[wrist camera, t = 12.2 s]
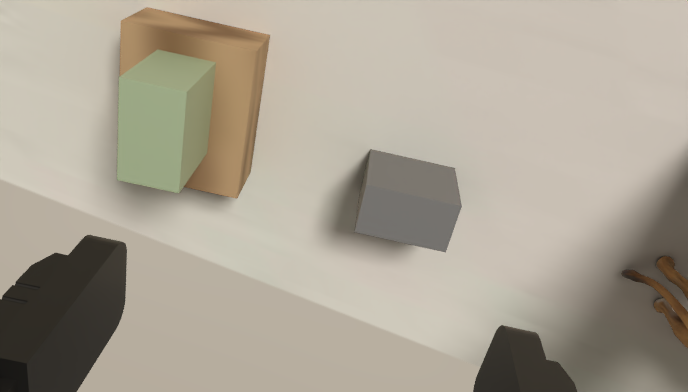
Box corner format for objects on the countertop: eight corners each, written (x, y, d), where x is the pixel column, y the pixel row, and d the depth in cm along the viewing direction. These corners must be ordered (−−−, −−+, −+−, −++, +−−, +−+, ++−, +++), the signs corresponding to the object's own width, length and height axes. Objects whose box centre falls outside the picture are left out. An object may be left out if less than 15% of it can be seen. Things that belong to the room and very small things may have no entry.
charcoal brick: (454, 167, 42) (461, 206, 37) (440, 210, 43) (445, 252, 38) (370, 148, 41) (366, 184, 37) (359, 192, 43) (354, 232, 38)
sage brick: (157, 49, 35) (118, 76, 30) (216, 62, 35) (186, 92, 30) (152, 141, 38) (116, 179, 33) (207, 153, 38) (178, 193, 33)
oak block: (269, 35, 38) (256, 51, 35) (250, 172, 43) (237, 198, 39) (146, 7, 38) (121, 20, 34) (140, 148, 43) (117, 172, 39)
